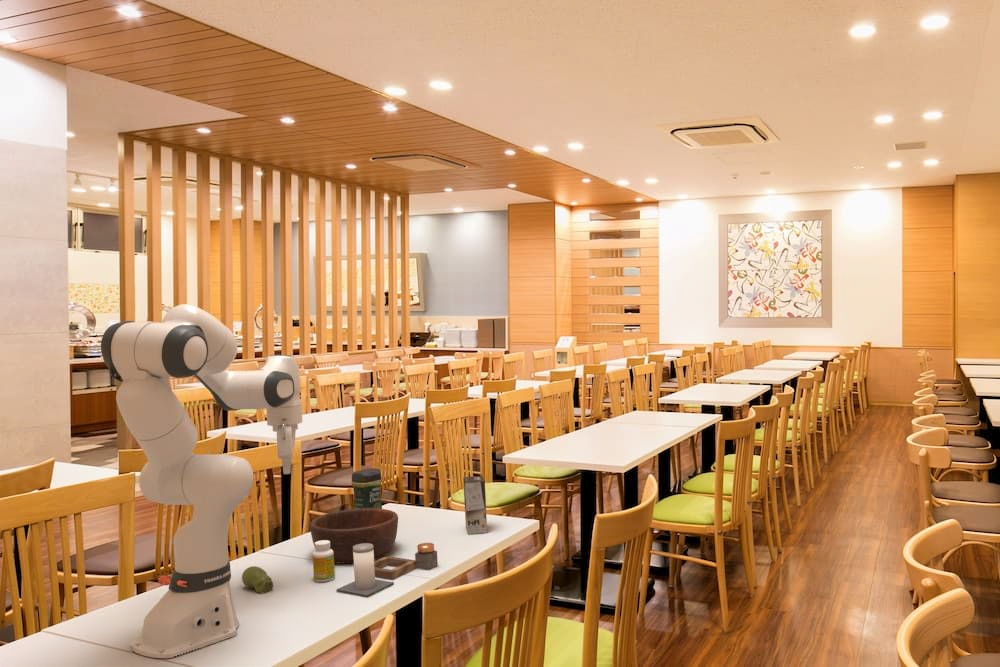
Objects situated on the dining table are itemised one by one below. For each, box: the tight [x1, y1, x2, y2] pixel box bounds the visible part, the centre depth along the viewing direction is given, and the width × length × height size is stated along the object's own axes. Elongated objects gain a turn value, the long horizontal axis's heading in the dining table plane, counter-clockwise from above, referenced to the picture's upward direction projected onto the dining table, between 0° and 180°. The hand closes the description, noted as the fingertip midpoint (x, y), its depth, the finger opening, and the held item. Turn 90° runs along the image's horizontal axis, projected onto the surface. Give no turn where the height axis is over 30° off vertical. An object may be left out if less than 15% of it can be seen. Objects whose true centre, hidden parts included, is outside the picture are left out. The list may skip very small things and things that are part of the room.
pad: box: [336, 578, 395, 598], centre depth 202 cm, size 10×10×1 cm
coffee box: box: [462, 475, 488, 535], centre depth 252 cm, size 9×6×16 cm
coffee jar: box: [351, 467, 383, 509], centre depth 263 cm, size 10×8×19 cm
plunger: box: [416, 542, 435, 554], centre depth 217 cm, size 4×4×5 cm
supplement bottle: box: [312, 540, 336, 583], centre depth 211 cm, size 5×5×10 cm
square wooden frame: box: [374, 550, 439, 581], centre depth 215 cm, size 14×14×4 cm
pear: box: [241, 565, 274, 594], centre depth 206 cm, size 6×5×10 cm
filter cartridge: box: [353, 543, 376, 589], centre depth 202 cm, size 5×5×10 cm
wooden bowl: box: [309, 508, 399, 564], centre depth 233 cm, size 25×25×10 cm
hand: (287, 470), depth 209 cm, fingers open, 8 cm apart
